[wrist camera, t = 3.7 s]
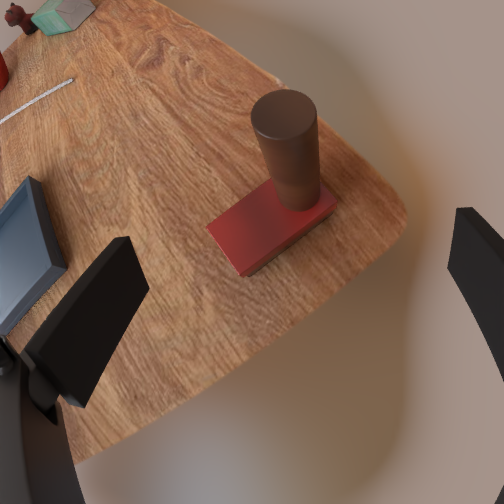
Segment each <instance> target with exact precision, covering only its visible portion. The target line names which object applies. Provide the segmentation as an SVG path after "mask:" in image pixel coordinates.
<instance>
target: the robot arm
mask: <svg viewBox="0 0 504 504" xmlns="http://www.w3.org/2000/svg"><path fill="white" fill-rule="evenodd" d="M447 269H448V270H449V272H450V274H451V275H452V277H453V279H454V280H455V282H456V284H457V286H458V287H459V289H460V291H461V293H462V295H463V296H464V298H465V300H466V302H467V304H468V306H469V307H470V309H471V311H472V313H473V315H474V317H475V319H476V321H477V323H478V325H479V327H480V329H481V331H482V333H483V335H484V337H485V339H486V341H487V344H488V346H489V348H490V350H491V352H492V354H493V357H494V359H495V362H496V364H497V366H498V368H499V371H500V374H501V376H502V378H503V381H504V239H503V238H502V237H501V236H500V235H499V234H498V233H497V232H496V231H495V230H494V229H493V228H492V227H491V226H490V225H489V223H488V222H487V221H486V220H485V219H484V218H483V217H482V216H481V215H479V213H478V212H477V211H475V209H474V208H473V207H467V208H466V207H465V208H457V209H456V216H455V224H454V231H453V238H452V244H451V251H450V256H449V262H448V267H447ZM149 289H150V288H149V286H148V283H147V281H146V278H145V276H144V273H143V271H142V269H141V266H140V263H139V261H138V258H137V256H136V253H135V251H134V248H133V245H132V243H131V240H130V237H129V236H125V237H117V238H114V239H113V240H112V241H111V243H110V244H109V245H108V246H107V247H106V248H105V249H104V250H103V251H102V252H101V254H100V255H99V256H98V257H97V258H96V259H95V260H94V262H93V263H92V264H91V265H90V266H89V267H88V268H87V270H86V271H85V272H84V273H83V274H82V275H81V277H80V278H79V279H78V280H77V281H76V283H75V284H74V285H73V286H72V287H71V289H70V290H69V291H68V292H67V293H66V295H65V296H64V297H63V298H62V300H61V301H60V302H59V303H58V305H57V306H56V307H55V308H54V309H53V310H52V311H51V313H50V314H49V315H48V316H47V318H46V320H44V322H43V323H42V324H41V326H40V328H38V330H37V331H36V332H35V334H34V335H33V336H32V338H31V339H30V341H29V342H28V343H27V345H26V346H25V347H24V349H23V350H22V352H21V353H20V354H18V353H17V351H16V350H15V349H14V347H13V346H12V345H11V343H10V342H9V340H8V339H7V338H6V336H4V335H1V334H0V504H85V501H84V498H83V494H82V491H81V488H80V485H79V482H78V478H77V475H76V471H75V467H74V464H73V460H72V456H71V452H70V447H69V443H68V439H67V434H66V429H65V424H64V419H63V413H62V408H61V405H60V403H59V402H58V401H57V398H58V396H59V394H60V395H61V396H62V397H63V398H64V399H65V400H66V401H67V403H68V404H70V405H74V406H77V407H81V408H85V407H86V405H87V403H88V401H89V399H90V397H91V395H92V393H93V391H94V389H95V387H96V385H97V383H98V381H99V379H100V377H101V375H102V373H103V371H104V369H105V367H106V366H107V364H108V362H109V360H110V358H111V356H112V354H113V352H114V351H115V349H116V347H117V345H118V343H119V341H120V340H121V338H122V336H123V334H124V332H125V331H126V329H127V327H128V325H129V324H130V322H131V320H132V318H133V316H134V315H135V313H136V311H137V309H138V308H139V306H140V304H141V303H142V301H143V299H144V297H145V296H146V294H147V292H148V291H149ZM495 504H504V486H503V488H502V490H501V492H500V494H499V496H498V498H497V500H496V502H495Z"/></svg>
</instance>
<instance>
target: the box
mask: <svg viewBox="0 0 504 504" xmlns="http://www.w3.org/2000/svg"><path fill="white" fill-rule="evenodd" d="M95 9H96V7H95V6H94V5H93V3H92V2H91V1H90V0H48V1H47V2H46V3H45V4H44V5H43V6H42V7H40V9H39V10H38V11H37V12H36V13H35V14H34V15H33V16H32V17H31V21H32V22H33V23H34V24H35V25H36V26H37V27H38V28H39V29H40V30H41V31H42V32H43V33H44V34H45V35H47V36H50V35H54V34H59V33H64V32H68V31H72V30H75V29H76V28H77V27H78V26H79V25H80V24H81V23H82V22H83V21H84V20H85V19H86V18H87V17H88V16H89V15H90V14H91V13H92V12H93V11H94V10H95Z"/></svg>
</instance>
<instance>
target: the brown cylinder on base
mask: <svg viewBox="0 0 504 504" xmlns="http://www.w3.org/2000/svg"><path fill="white" fill-rule="evenodd" d="M251 123H252V126H253V129H254V131H255V134H256V137H257V140H258V142H259V145H260V148H261V151H262V153H263V156H264V159H265V162H266V164H267V167H268V170H269V173H270V176H271V178H270V179H269V180H267V181H266V182H265V183H263V184H262V185H260V186H259V187H258V188H256V189H255V190H254V191H252V192H251V193H250V194H248V195H247V196H246V197H244V198H243V199H242V200H240V201H239V202H238V203H236V204H235V205H234V206H232V207H231V208H230V209H228V210H227V211H226V212H224V213H223V214H222V215H220V216H219V217H218V218H216V219H215V220H214V221H213V222H211V223H210V224H209V225H207V226H206V229H207V230H208V231H209V233H210V234H211V236H212V237H213V239H214V240H215V242H216V243H217V244H218V246H219V247H220V249H221V250H222V252H223V253H224V254H225V256H226V257H227V259H228V260H229V262H230V263H231V264H232V266H233V267H234V269H235V270H236V272H237V273H238V274H239V275H240V276H241V277H243V278H244V277H245V276H248V277H250V276H251V275H253V274H254V273H255V272H257V271H258V270H259V269H261V268H262V267H263V266H265V265H266V264H267V263H269V262H270V261H271V260H272V259H274V258H275V257H276V256H278V255H279V254H280V253H282V252H283V251H284V250H286V249H287V248H288V247H290V246H291V245H292V244H294V243H295V242H296V241H298V240H299V239H300V238H302V237H303V236H304V235H305V234H307V233H308V232H309V231H311V230H312V229H313V228H315V227H316V226H317V225H319V224H320V223H321V222H322V221H324V220H325V219H326V218H328V217H329V216H330V215H332V214H333V210H334V209H335V208H336V207H337V202H338V201H337V199H336V198H335V197H334V196H333V195H332V194H331V193H330V192H329V190H328V189H327V188H326V187H325V186H324V185H323V184H322V183H321V182H320V163H319V142H318V124H317V111H316V107H315V105H314V103H313V102H312V100H311V99H310V98H309V97H307V96H306V95H304V94H303V93H301V92H298V91H294V90H277V91H273V92H270V93H268V94H266V95H264V96H263V97H261V98H260V99H259V100H258V101H257V102H256V103H255V105H254V106H253V108H252V111H251Z"/></svg>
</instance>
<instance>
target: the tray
mask: <svg viewBox="0 0 504 504" xmlns="http://www.w3.org/2000/svg"><path fill="white" fill-rule="evenodd" d="M66 270H67V268H66V265H65V262H64V259H63V257H62V254H61V251H60V248H59V245H58V242H57V239H56V236H55V233H54V229H53V226H52V223H51V220H50V216H49V213H48V209H47V206H46V202H45V198H44V194H43V191H42V187H41V183H40V182H39V181H37V180H36V179H34V178H32V177H30V176H29V175H28V176H27V178H26V179H25V180H24V181H23V182H22V183H21V185H20V186H19V187H18V188H17V189H16V191H15V192H14V193H13V194H12V196H11V197H10V198H9V199H8V201H7V202H6V203H5V205H4V206H3V207H2V209H1V210H0V334H1V335H4V336H7V334H8V333H9V332H10V331H11V330H12V329H13V327H14V326H15V325H16V324H17V323H18V322H19V320H20V319H21V318H22V317H23V316H24V315H25V314H26V313H27V311H28V310H29V309H30V308H31V307H32V306H33V305H34V304H35V303H36V302H37V300H38V299H39V298H40V297H41V296H42V295H43V294H44V293H45V292H46V291H47V290H48V289H49V288H50V287H51V286H52V285H53V284H54V282H55V281H56V280H57V279H58V278H59V277H60V276H61V275H62V274H63V273H64V272H65V271H66Z"/></svg>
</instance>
